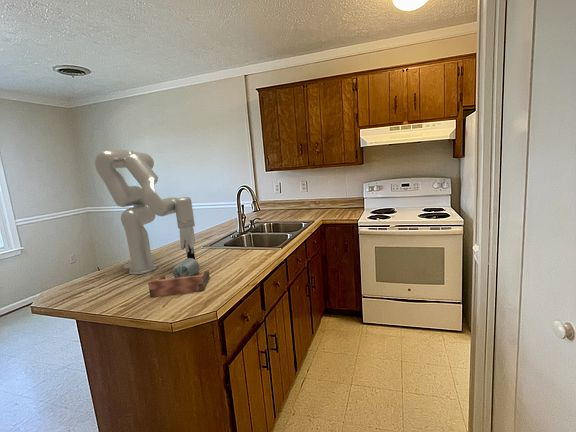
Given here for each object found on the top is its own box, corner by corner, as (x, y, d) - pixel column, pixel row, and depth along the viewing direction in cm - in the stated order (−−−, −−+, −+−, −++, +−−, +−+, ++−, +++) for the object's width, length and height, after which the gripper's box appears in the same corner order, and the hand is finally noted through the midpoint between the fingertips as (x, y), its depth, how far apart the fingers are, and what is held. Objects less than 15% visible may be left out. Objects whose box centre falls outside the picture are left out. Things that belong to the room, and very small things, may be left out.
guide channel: (150, 297, 121) (147, 282, 120) (162, 282, 136) (160, 269, 135) (203, 290, 122) (201, 276, 121) (209, 277, 137) (207, 264, 136)
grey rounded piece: (189, 277, 130) (180, 255, 132) (172, 287, 133) (163, 265, 135) (208, 273, 143) (199, 253, 145) (192, 282, 145) (184, 263, 148)
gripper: (181, 221, 153) (187, 258, 156) (173, 227, 139) (179, 267, 142) (197, 220, 154) (202, 256, 157) (191, 226, 139) (196, 265, 142)
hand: (191, 261), depth 149 cm, fingers closed
